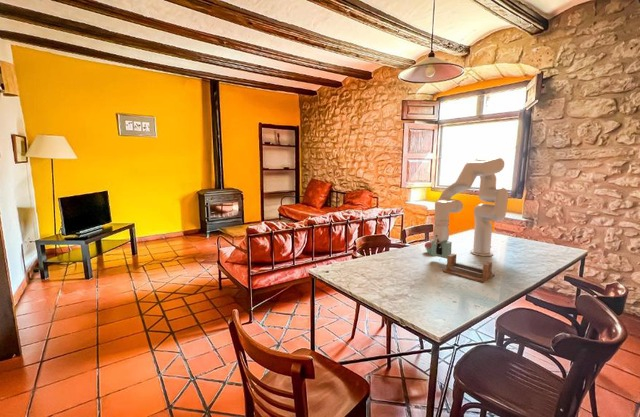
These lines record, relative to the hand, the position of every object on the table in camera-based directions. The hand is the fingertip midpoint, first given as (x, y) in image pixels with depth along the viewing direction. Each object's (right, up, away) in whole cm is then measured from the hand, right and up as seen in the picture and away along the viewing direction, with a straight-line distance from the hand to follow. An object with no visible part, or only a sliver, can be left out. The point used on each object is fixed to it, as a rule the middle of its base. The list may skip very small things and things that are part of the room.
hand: (441, 252), depth 172 cm
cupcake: (+1, -3, +19) cm, 19 cm away
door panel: (0, -2, 0) cm, 2 cm away
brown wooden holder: (+7, -8, -18) cm, 21 cm away
